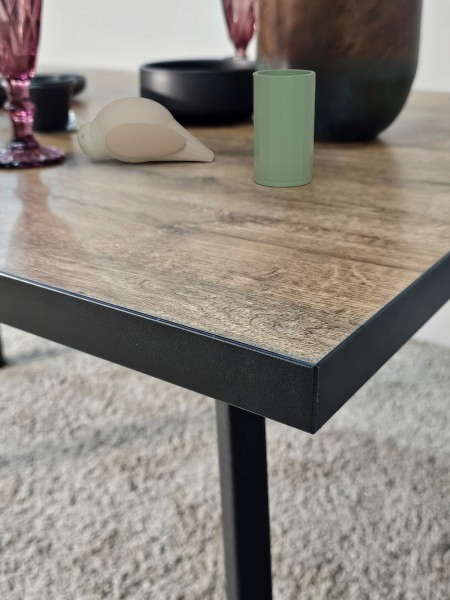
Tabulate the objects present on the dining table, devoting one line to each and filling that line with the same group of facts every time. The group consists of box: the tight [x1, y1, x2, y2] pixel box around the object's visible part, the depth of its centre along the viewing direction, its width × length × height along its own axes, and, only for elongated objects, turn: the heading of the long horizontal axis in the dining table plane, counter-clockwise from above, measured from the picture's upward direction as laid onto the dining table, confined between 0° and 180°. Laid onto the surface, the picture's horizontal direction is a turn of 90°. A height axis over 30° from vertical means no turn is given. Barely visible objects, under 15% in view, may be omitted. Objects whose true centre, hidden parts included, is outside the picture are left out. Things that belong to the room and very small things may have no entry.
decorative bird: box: [75, 96, 215, 164], centre depth 87 cm, size 9×16×8 cm, turn 97°
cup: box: [252, 68, 316, 188], centre depth 77 cm, size 6×6×11 cm
